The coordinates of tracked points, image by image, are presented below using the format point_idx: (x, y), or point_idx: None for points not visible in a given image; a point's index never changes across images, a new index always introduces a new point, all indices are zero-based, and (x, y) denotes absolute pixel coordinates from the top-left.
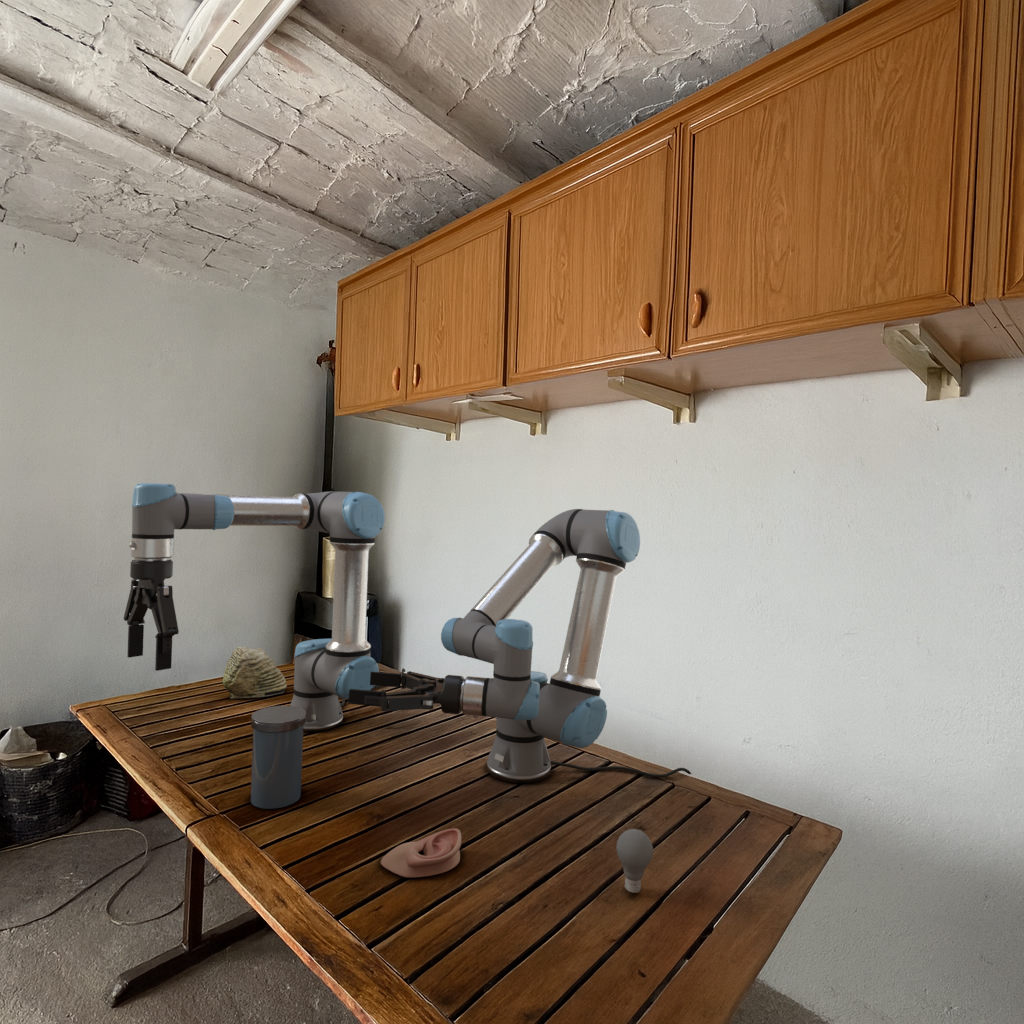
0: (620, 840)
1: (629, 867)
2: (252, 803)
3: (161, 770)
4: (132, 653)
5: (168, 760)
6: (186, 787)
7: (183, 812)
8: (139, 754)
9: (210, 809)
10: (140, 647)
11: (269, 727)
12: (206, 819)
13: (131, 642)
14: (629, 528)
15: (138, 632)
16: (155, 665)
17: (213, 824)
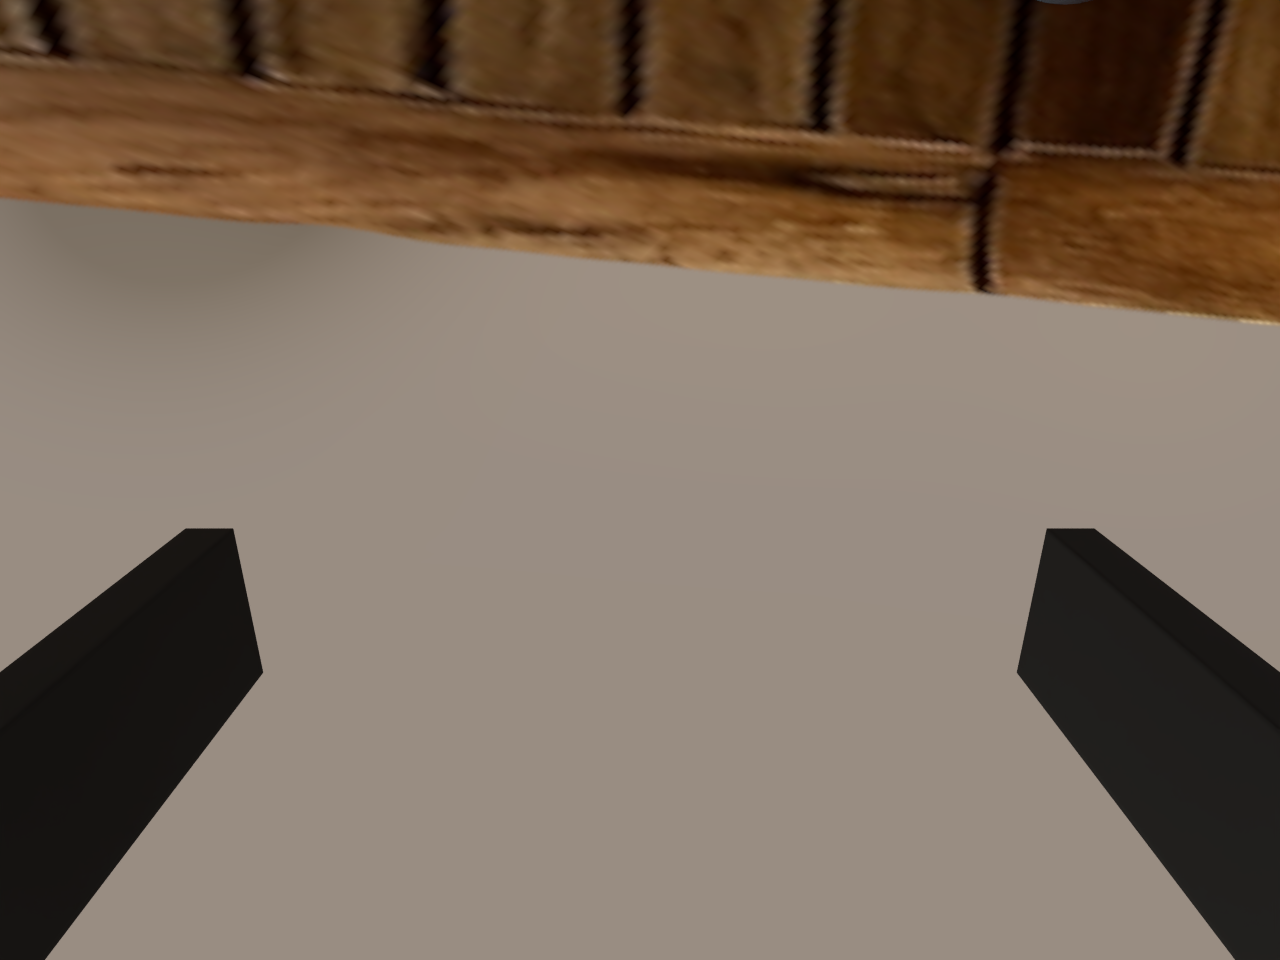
0: None
1: None
2: (1052, 2)
3: (398, 144)
4: (234, 665)
5: (292, 62)
6: (661, 142)
7: (870, 257)
8: (127, 140)
9: (934, 166)
10: (175, 615)
11: None
12: (995, 219)
13: (147, 786)
14: None
15: (15, 827)
16: (1048, 707)
17: (1053, 219)
